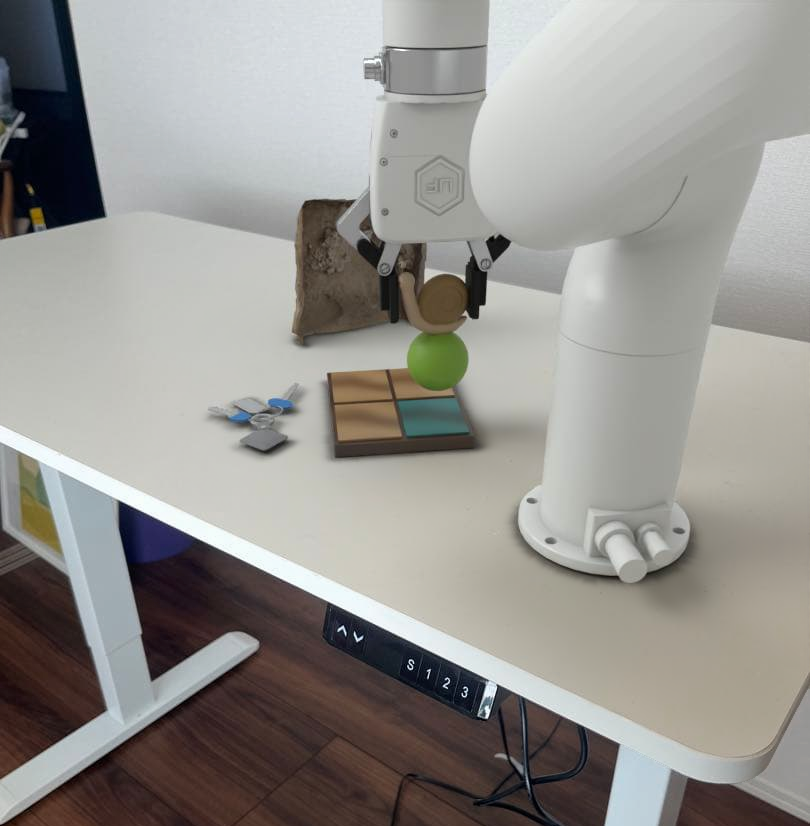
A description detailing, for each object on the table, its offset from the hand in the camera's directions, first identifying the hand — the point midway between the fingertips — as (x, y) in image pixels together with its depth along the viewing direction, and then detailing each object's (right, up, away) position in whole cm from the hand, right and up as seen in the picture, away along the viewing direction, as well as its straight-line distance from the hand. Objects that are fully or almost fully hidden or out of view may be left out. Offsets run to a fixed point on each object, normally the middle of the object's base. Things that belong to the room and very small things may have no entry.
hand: (432, 314), depth 70 cm
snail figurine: (0, -6, +4) cm, 7 cm away
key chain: (-17, -8, +8) cm, 20 cm away
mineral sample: (-8, +6, +28) cm, 29 cm away
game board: (-3, -7, +9) cm, 12 cm away
